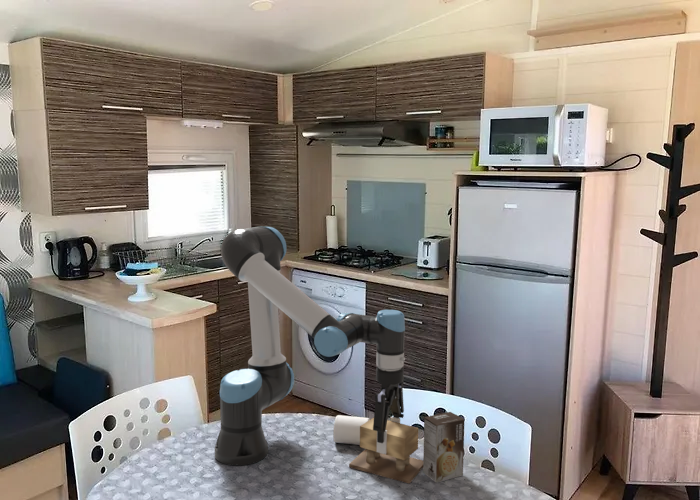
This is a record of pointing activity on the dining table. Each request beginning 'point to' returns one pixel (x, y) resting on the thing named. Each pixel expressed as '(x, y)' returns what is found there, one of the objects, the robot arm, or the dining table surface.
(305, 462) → the dining table surface
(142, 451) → the dining table surface
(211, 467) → the dining table surface
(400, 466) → the peg stand
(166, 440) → the dining table surface
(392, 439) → the wooden block
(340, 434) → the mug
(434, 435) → the coffee box
